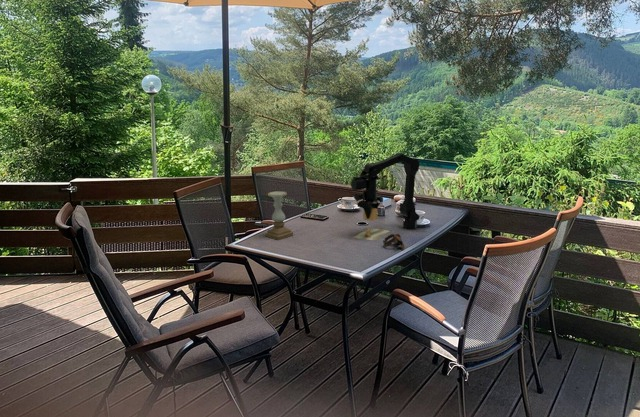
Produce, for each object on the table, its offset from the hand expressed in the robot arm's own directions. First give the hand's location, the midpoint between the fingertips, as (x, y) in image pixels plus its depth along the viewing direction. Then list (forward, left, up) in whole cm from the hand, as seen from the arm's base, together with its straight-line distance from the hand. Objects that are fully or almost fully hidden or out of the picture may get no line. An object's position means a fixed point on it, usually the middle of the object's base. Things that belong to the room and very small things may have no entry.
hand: (370, 217), depth 255 cm
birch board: (0, -1, -10) cm, 11 cm away
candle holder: (+45, +21, -11) cm, 50 cm away
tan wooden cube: (0, 0, -1) cm, 1 cm away
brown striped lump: (-19, +12, -11) cm, 25 cm away
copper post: (0, +4, -9) cm, 10 cm away
